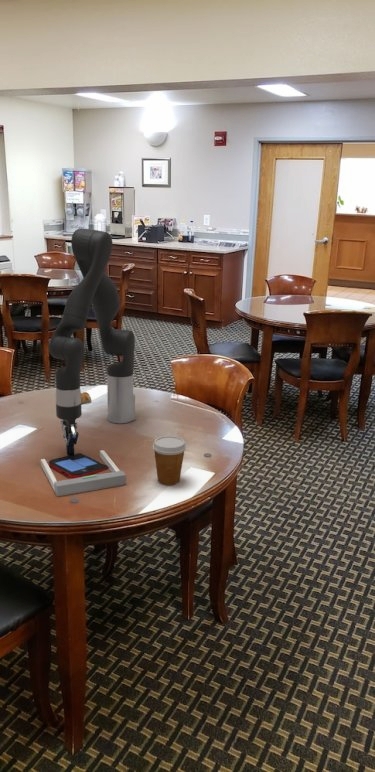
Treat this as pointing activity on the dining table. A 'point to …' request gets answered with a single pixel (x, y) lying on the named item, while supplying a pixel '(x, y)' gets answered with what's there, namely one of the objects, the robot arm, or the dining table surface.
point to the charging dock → (86, 479)
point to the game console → (76, 466)
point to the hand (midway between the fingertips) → (70, 454)
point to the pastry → (85, 398)
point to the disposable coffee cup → (169, 458)
